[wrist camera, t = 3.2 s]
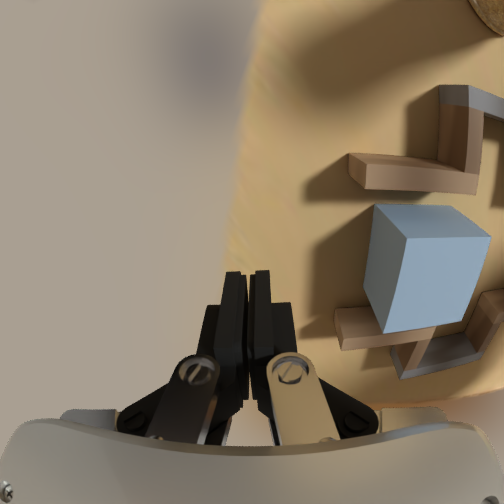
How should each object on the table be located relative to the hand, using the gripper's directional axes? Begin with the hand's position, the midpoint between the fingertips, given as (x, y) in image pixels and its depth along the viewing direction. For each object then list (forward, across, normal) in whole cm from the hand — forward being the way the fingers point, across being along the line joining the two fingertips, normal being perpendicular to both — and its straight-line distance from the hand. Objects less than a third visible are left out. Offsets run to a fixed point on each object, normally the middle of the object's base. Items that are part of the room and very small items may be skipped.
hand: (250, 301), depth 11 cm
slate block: (+4, -9, 0) cm, 9 cm away
